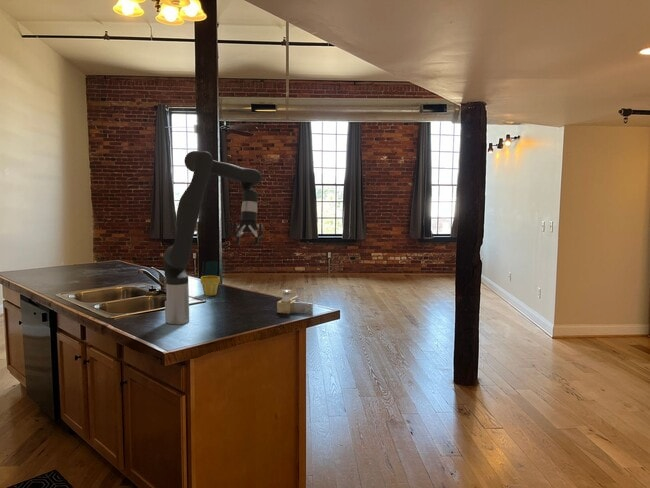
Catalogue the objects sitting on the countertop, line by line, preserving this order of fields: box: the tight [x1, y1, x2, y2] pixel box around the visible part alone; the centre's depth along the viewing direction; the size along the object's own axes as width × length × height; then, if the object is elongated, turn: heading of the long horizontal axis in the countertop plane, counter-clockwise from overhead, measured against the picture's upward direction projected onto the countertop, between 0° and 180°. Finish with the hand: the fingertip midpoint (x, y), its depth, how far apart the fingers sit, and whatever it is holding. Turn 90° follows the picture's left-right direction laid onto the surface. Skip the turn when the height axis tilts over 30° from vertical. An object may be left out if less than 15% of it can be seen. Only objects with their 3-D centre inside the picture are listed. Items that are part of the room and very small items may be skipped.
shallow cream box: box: [276, 295, 314, 315], centre depth 233 cm, size 17×17×5 cm
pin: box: [280, 289, 292, 303], centre depth 231 cm, size 5×5×10 cm
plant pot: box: [200, 275, 221, 296], centre depth 269 cm, size 10×10×10 cm
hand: (247, 245), depth 232 cm, fingers open, 8 cm apart
